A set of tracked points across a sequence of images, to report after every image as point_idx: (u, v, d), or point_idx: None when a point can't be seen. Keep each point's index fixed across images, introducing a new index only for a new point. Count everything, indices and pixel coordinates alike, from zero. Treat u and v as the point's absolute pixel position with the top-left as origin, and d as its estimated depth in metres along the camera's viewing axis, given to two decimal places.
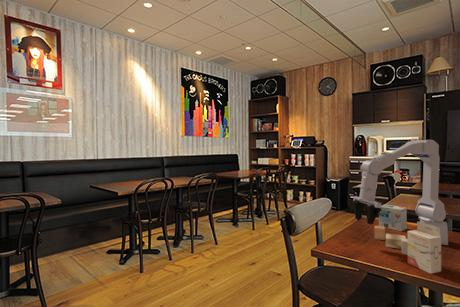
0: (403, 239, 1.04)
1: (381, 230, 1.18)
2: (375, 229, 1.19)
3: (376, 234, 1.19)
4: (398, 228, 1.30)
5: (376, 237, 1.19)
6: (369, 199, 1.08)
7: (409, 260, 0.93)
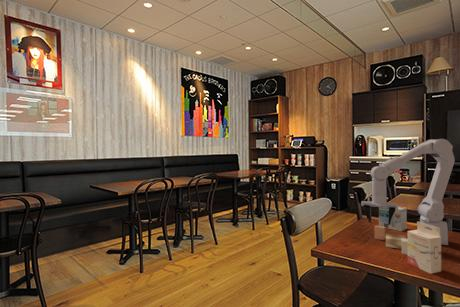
0: (403, 239, 1.04)
1: (381, 230, 1.18)
2: (375, 229, 1.19)
3: (376, 234, 1.19)
4: (398, 228, 1.30)
5: (376, 237, 1.19)
6: (386, 202, 1.18)
7: (409, 260, 0.93)
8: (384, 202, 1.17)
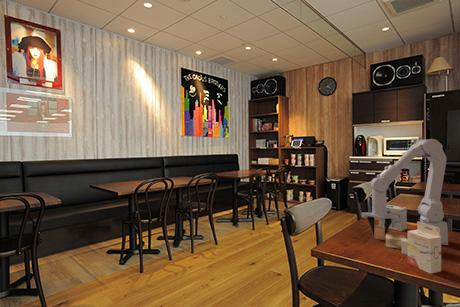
0: (403, 239, 1.04)
1: (381, 230, 1.18)
2: (375, 229, 1.19)
3: (376, 234, 1.19)
4: (398, 228, 1.30)
5: (376, 237, 1.19)
6: (386, 214, 1.18)
7: (409, 260, 0.93)
8: (384, 214, 1.17)
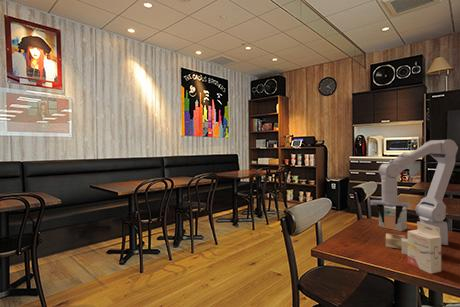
0: (403, 239, 1.04)
1: (391, 218, 1.12)
2: (385, 217, 1.13)
3: (386, 223, 1.13)
4: (398, 228, 1.30)
5: (386, 226, 1.13)
6: (396, 201, 1.12)
7: (409, 260, 0.93)
8: (395, 201, 1.11)
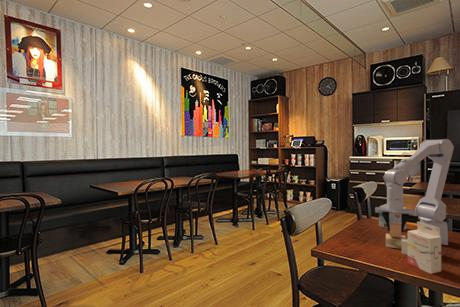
0: (403, 239, 1.04)
1: (397, 227, 1.09)
2: (391, 226, 1.10)
3: (392, 231, 1.10)
4: None
5: (392, 234, 1.10)
6: (402, 209, 1.09)
7: (409, 260, 0.93)
8: (401, 209, 1.08)
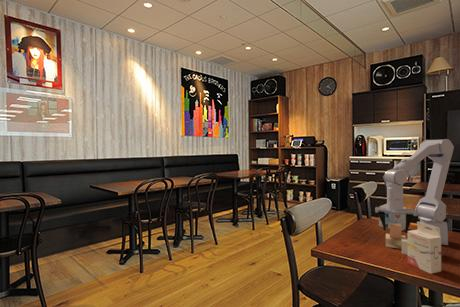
0: (403, 239, 1.04)
1: (397, 228, 1.09)
2: (390, 227, 1.10)
3: (392, 232, 1.10)
4: None
5: (392, 236, 1.10)
6: (402, 209, 1.09)
7: (409, 260, 0.93)
8: (401, 208, 1.08)
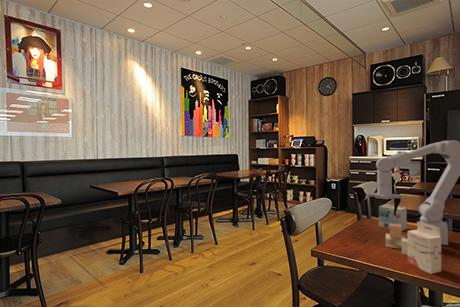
0: (403, 239, 1.04)
1: (397, 228, 1.09)
2: (390, 227, 1.10)
3: (392, 232, 1.10)
4: None
5: (392, 236, 1.10)
6: (391, 193, 1.19)
7: (409, 260, 0.93)
8: (389, 193, 1.19)
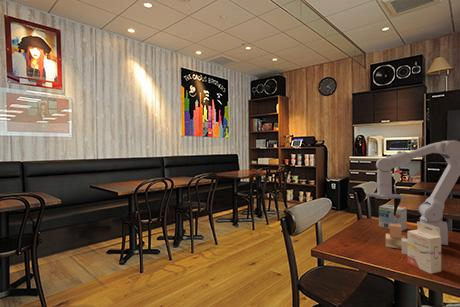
0: (403, 239, 1.04)
1: (397, 228, 1.09)
2: (390, 227, 1.10)
3: (392, 232, 1.10)
4: None
5: (392, 236, 1.10)
6: (391, 193, 1.19)
7: (409, 260, 0.93)
8: (389, 193, 1.19)
